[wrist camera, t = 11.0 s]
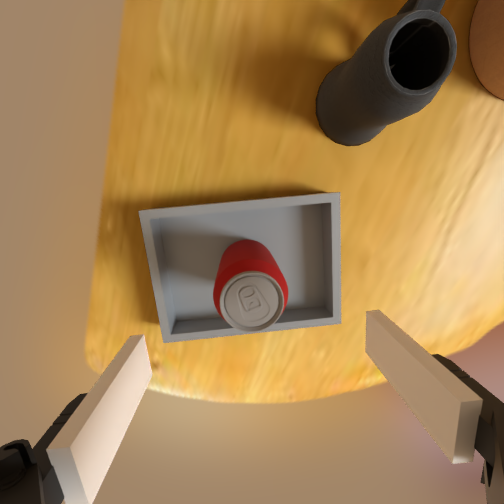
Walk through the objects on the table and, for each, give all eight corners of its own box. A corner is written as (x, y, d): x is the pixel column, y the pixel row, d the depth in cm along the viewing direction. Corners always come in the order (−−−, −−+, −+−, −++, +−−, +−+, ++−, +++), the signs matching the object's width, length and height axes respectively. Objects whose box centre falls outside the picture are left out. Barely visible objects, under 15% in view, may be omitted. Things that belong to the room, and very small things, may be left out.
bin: (150, 208, 31) (138, 210, 27) (327, 192, 32) (340, 192, 28) (171, 326, 35) (163, 343, 31) (329, 309, 36) (341, 323, 32)
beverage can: (232, 296, 33) (229, 351, 22) (211, 249, 32) (197, 282, 20) (280, 277, 33) (303, 323, 22) (261, 229, 32) (276, 251, 20)
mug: (368, 158, 31) (438, 140, 20) (302, 126, 30) (339, 88, 19) (418, 57, 29) (527, -25, 18) (349, 17, 28) (422, -97, 17)
